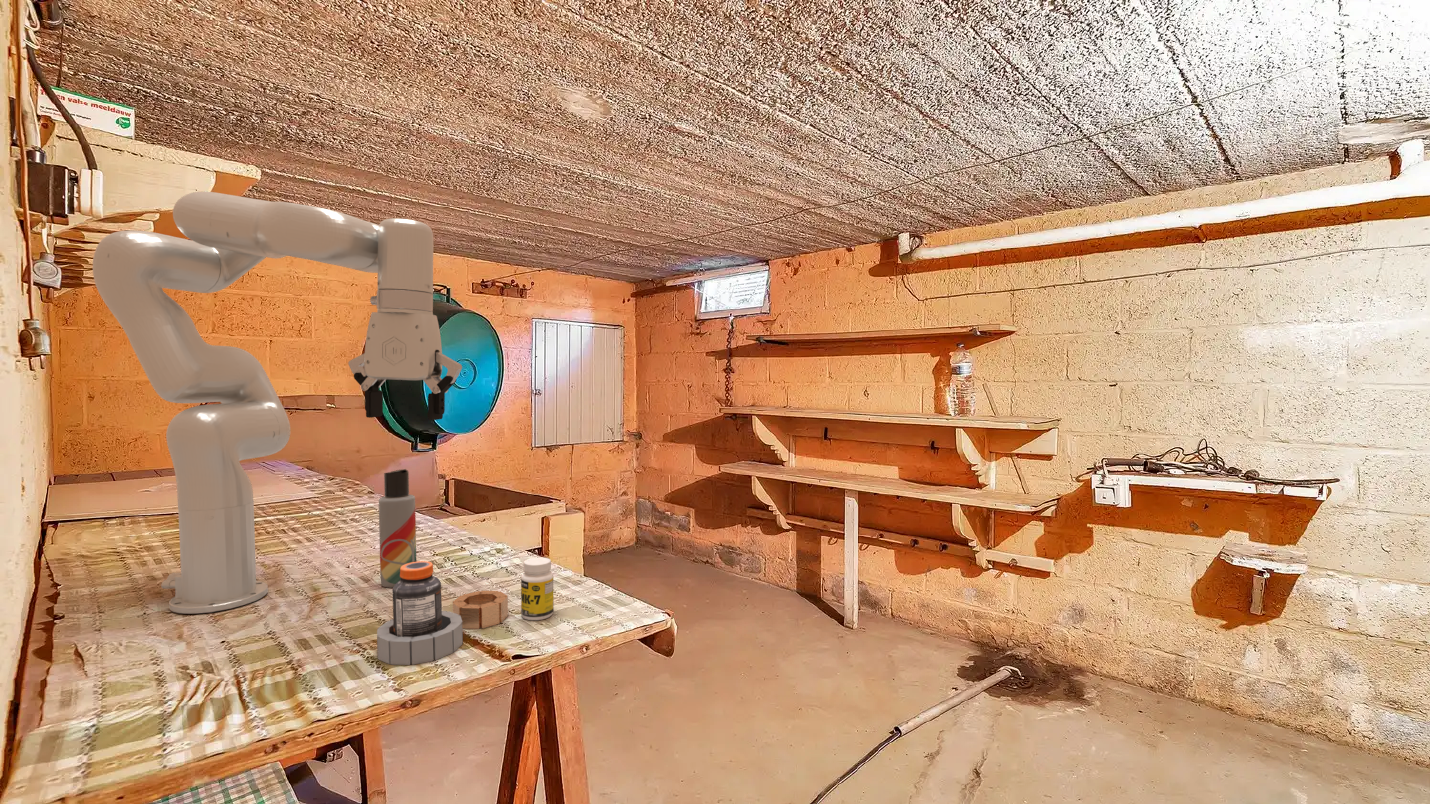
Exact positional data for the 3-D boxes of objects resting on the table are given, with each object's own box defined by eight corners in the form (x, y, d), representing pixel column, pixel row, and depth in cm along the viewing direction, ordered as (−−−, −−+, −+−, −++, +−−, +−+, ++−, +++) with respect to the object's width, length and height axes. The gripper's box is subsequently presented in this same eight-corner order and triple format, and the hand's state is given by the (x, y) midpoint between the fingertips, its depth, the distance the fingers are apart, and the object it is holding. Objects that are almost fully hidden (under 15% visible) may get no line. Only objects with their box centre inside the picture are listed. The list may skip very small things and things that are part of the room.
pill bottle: (411, 636, 90) (410, 556, 89) (451, 639, 89) (449, 558, 88) (384, 655, 84) (382, 570, 83) (426, 658, 83) (424, 572, 82)
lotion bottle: (402, 589, 109) (399, 472, 108) (373, 587, 110) (370, 471, 109) (423, 578, 114) (421, 467, 113) (395, 576, 115) (393, 466, 114)
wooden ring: (445, 628, 92) (445, 607, 92) (467, 609, 100) (467, 590, 100) (495, 629, 92) (494, 609, 92) (513, 610, 99) (513, 591, 99)
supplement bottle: (514, 618, 96) (514, 563, 96) (533, 607, 101) (533, 555, 100) (541, 623, 94) (541, 567, 94) (559, 611, 99) (559, 558, 98)
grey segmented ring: (360, 663, 81) (360, 640, 81) (404, 630, 92) (403, 610, 91) (439, 665, 81) (439, 642, 81) (474, 632, 91) (474, 611, 91)
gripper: (334, 300, 93) (334, 417, 94) (448, 303, 91) (447, 422, 92) (366, 305, 100) (366, 414, 101) (472, 308, 99) (471, 418, 100)
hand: (404, 418), depth 97 cm, fingers open, 9 cm apart
